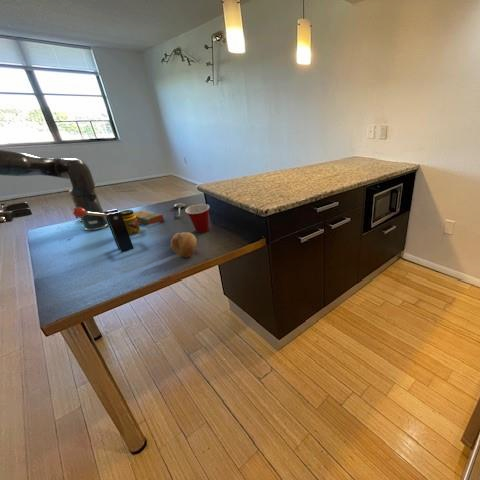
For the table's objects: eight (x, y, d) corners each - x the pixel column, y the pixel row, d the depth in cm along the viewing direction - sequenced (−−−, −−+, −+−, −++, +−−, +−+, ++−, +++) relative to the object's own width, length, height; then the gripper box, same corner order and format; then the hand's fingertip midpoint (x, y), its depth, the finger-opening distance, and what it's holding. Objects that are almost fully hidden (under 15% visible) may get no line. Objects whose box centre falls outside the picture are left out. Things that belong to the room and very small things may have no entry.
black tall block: (113, 260, 102) (95, 219, 94) (106, 253, 108) (89, 213, 99) (146, 249, 110) (133, 210, 102) (139, 243, 116) (126, 205, 108)
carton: (145, 216, 144) (143, 209, 142) (164, 221, 137) (162, 214, 136) (129, 221, 137) (127, 214, 135) (149, 227, 131) (147, 219, 129)
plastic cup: (185, 233, 125) (179, 209, 120) (202, 224, 134) (197, 202, 129) (202, 237, 122) (197, 213, 116) (218, 228, 131) (214, 205, 125)
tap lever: (72, 217, 91) (74, 207, 91) (70, 215, 93) (72, 205, 93) (118, 222, 102) (120, 213, 102) (115, 219, 104) (117, 211, 104)
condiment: (143, 236, 122) (134, 212, 116) (121, 240, 117) (111, 216, 112) (142, 230, 127) (134, 207, 122) (121, 235, 123) (112, 211, 117)
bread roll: (172, 262, 102) (167, 244, 98) (174, 245, 114) (169, 229, 110) (199, 257, 105) (195, 239, 102) (198, 241, 117) (194, 225, 114)
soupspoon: (187, 206, 161) (175, 207, 159) (185, 200, 159) (173, 202, 157) (185, 217, 143) (172, 219, 140) (184, 211, 141) (170, 213, 139)
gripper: (-64, 216, 67) (25, 201, 78) (-59, 204, 75) (21, 192, 86) (-45, 242, 71) (37, 224, 82) (-43, 227, 79) (32, 213, 90)
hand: (29, 208), depth 84 cm, fingers open, 8 cm apart
